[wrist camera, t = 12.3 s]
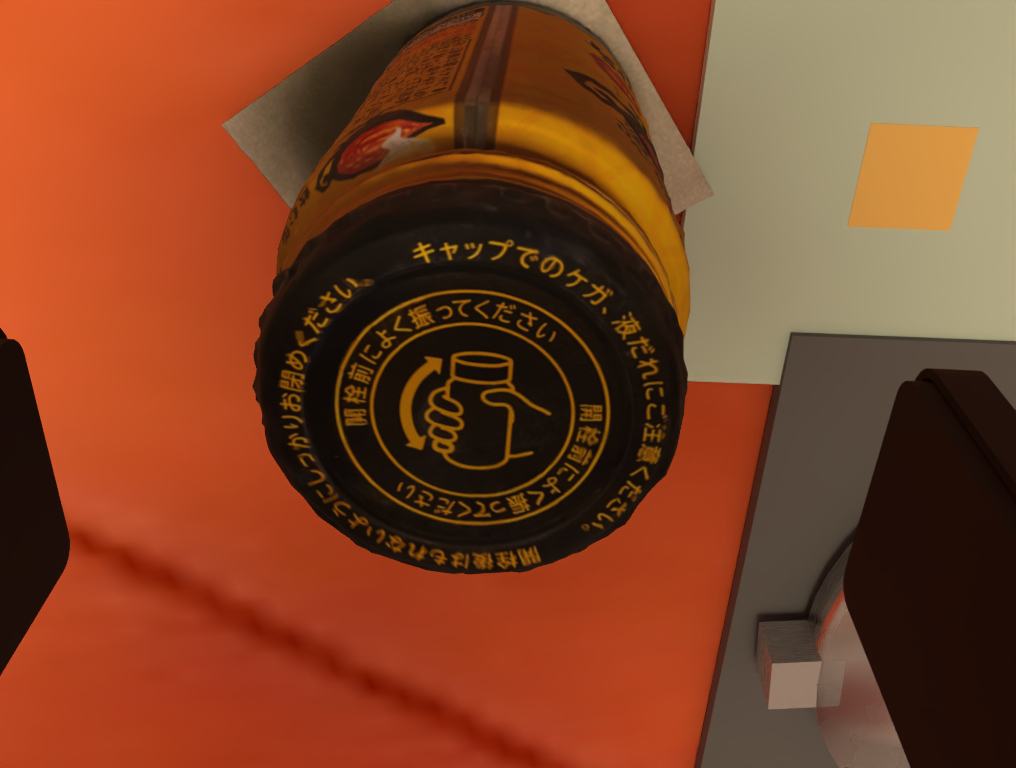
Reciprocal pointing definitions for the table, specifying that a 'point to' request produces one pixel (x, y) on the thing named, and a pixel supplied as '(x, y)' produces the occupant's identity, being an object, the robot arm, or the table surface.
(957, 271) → the mat
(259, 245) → the table surface
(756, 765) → the sprocket base
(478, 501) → the condiment
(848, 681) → the sprocket
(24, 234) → the table surface
